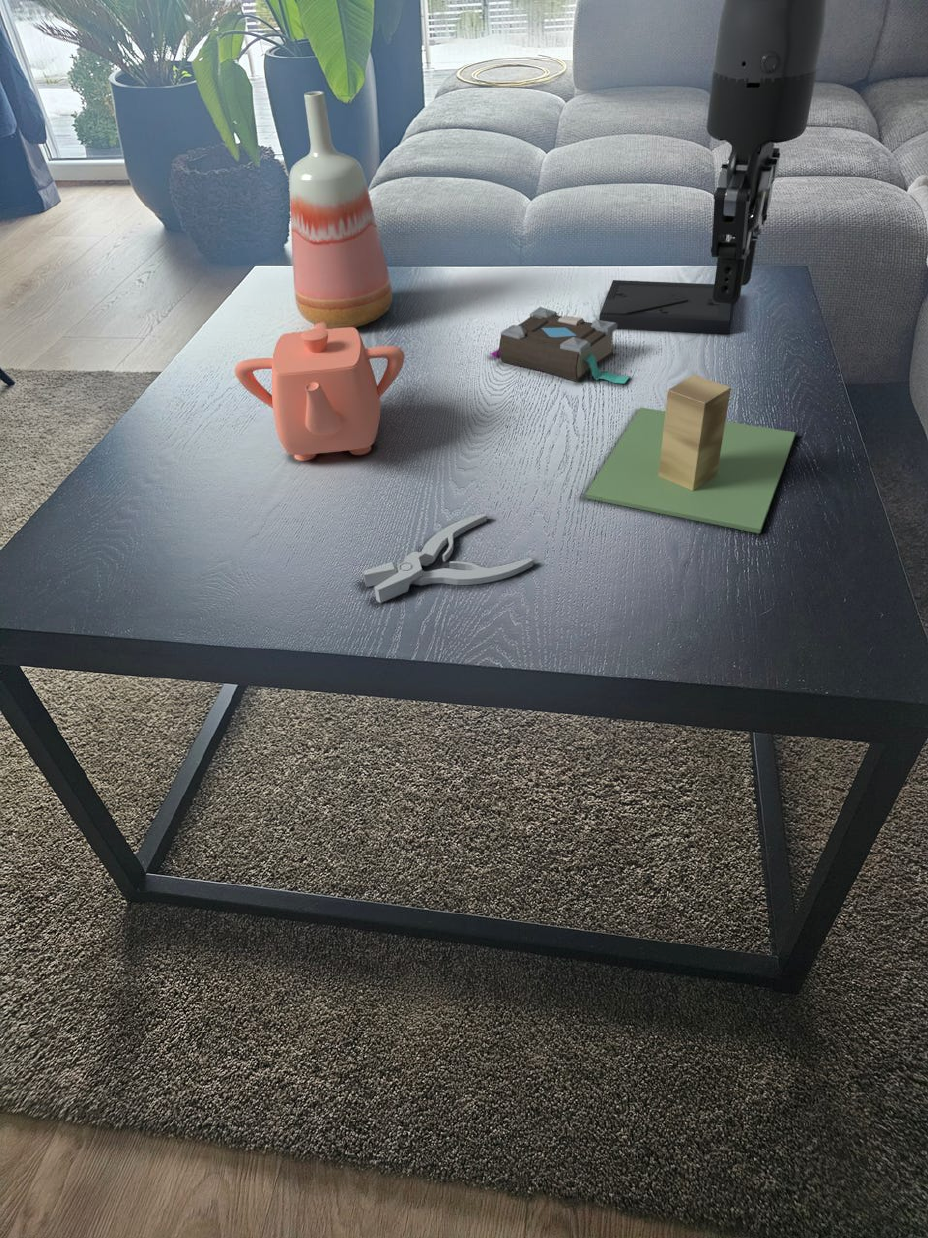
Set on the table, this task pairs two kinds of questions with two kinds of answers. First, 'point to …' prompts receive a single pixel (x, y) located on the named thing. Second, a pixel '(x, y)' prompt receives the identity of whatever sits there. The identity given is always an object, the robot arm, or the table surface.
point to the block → (693, 431)
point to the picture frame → (665, 307)
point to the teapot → (323, 390)
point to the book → (559, 345)
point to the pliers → (410, 571)
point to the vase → (334, 233)
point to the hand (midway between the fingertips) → (731, 291)
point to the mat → (722, 500)
